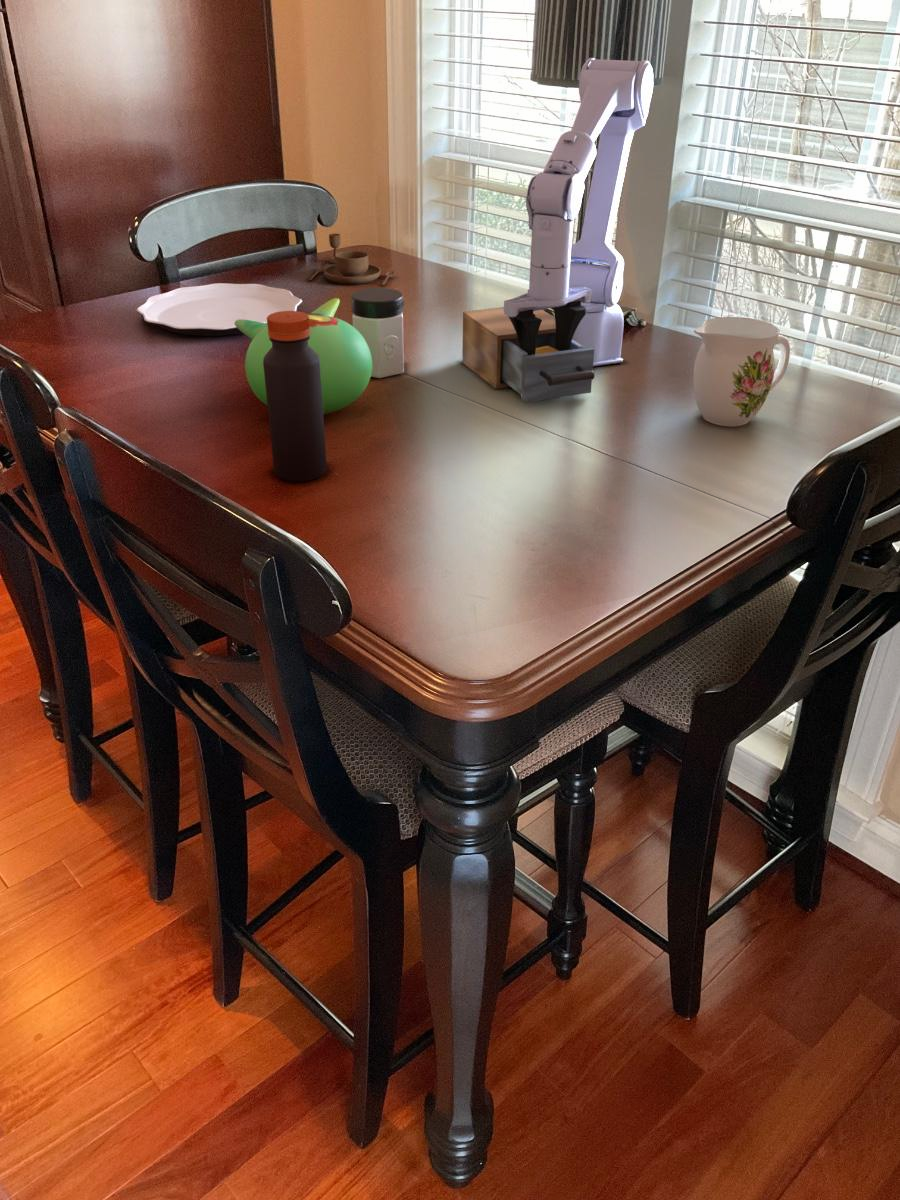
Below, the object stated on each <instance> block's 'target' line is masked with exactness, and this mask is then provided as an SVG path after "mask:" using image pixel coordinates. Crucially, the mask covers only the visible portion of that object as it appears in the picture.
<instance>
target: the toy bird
mask: <svg viewBox="0 0 900 1200" xmlns="http://www.w3.org/2000/svg"><path fill="white" fill-rule="evenodd" d="M340 302H341V301H340V298H338V297H335V298H331V299H329V300H327V301H326V302H325V303H323V304H321V305H320V306H319V307H318V308H316V309H314V310H313V311H312V312H310V313H306V314H307V315H308V316H309V326H310V335H309V336H310V339H309V340H308V346H310V347H311V348H312V349H313V350H314V351H315V352H316V353H317V354H318V355H319V358H320V373H321V388H322V402H323V416H324V415H328V414H331V413H335V412H338V411H340V410H343V409H345V408H347V407H348V406H350V405H351V404H352V403H354V402H355V401H356V400H358V399H359V398H360V397H361V396H362V394H363V393H364V392H365V391H366V389H367V387H368V385H369V383H370V381H371V378H372V377H371V373H372V357H371V353H370V350H369V347H368V345H367V343H366V341H365V339H364V338H363V336H362V335H361V334H360V333H359V332H358V331H357V330H356V329H355V328H354V327H353V324H352V325H351V324H350V323H349V322H347V321H345V320H343V319H340V318H338V317H334V316H335V314H336V312H337V310H338V308H339V306H340ZM234 324H235V326H236V327H237V328H238V329H239V330H240V331H241V332H243V334H244V335H245V336H246V337H248V338H249V339H250V340H251V342H250V343H249V346H248V348H247V351H246V354H245V359H244V363H245V364H244V370H245V376H246V379H247V382H248V385H249V387H250V390H251V391H252V392H253V394H254V395H255V396H256V397H257V399H258V400H259V401H260V402H261V403H262V404H264V406H267V396H266V386H265V376H264V366H263V360H264V356H265V355H266V354H267V353H268V351H269V350H270V349H271V348H272V342H271V341H270V340H269V335H268V325H267V324H265V323H261V322H256V321H251V320H245V319H239V320H236V321H235V323H234Z"/></svg>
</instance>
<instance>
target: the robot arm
mask: <svg viewBox="0 0 900 1200" xmlns="http://www.w3.org/2000/svg"><path fill="white" fill-rule="evenodd" d="M653 71H654V70H653V67H652V65H651V63H650V61H649V60H648V59H643V60H622V59H620V60H619V59H599V58H598V59H597V58H595V57H589V58H588V59H587V60H586V61H585V63H584V64H583V65H582V67H581V70H580V73H579V78H578V94H579V102H580V105H579V106H578V107H579V108H578V110H577V113H576V116H575V118H574V120H573V125H572V127H571V130H568V131H565V132H564V133H562V134H561V135H560V136H559V138H558V140H557V141H556V143H555V145H554V148H553V150H552V152H551V154H550V157H549V159H548V161H547V162H546V165H545V167H544V168H543V171H542V172H538V174H537V175H534V176H533V177H531V179H530V181H529V183H528V186H527V191H526V196H525V207H526V212H527V215H528V223H527V225H528V229H529V230H531V238H530V239H531V241H530V260H529V262H530V263H529V283H528V284H529V285H528V289H527V292H526V293H523V294H520V295H518V296H516V297H513V298H510V299H505V300H503V307H504V314H505V315H507V316H509V318H510V320H511V322H512V324H513V326H514V329H515V331H516V334H517V337H518V340H519V344H520V348H521V349H522V350H523V351H525V352H526V353H528V355H535V351H536V340H537V335H538V331H539V327H540V325H541V322H542V320H541V319H539V318H537V317H535V314H533V311H538V310H543V311H544V310H548V309H553V314H554V317H555V324H556V335H555V348H556V350H559V351H564V350H569V347H570V344H571V341H572V340H574V341H576V342H577V343H579V344H581V345H582V346H583V348H587V347H592V348H593V349H594V361H593V367H596V366H604V365H610V364H618V363H623V362H624V361H623V360H624V359H623V358H622V357H621V355H622V347H623V346H622V345H623V337H624V336H623V335H624V326H625V325H624V323H625V320H624V313H623V310H622V309H621V307H620V306H619V304H617V303H618V302H619V300H620V297H621V294H622V291H623V286H624V270H625V269H624V268H625V260H624V258H623V256H622V255H621V253H619V252H618V251H617V249H616V248H615V247H614V246H613V245H612V239H613V233H614V229H615V222H616V218H617V214H618V208H619V204H620V198H621V194H622V188H623V183H624V179H625V174H626V169H627V168H626V167H627V163H628V158H629V154H630V149H631V144H632V141H633V137H634V133H635V131H638V130H639V129H641V128H642V127H644V126H645V125H646V120H647V117H648V115H649V109H650V104H651V100H652V95H653V89H654V72H653ZM598 136H599V141H598V145H597V148H596V144H595V141H596V140H597V138H598ZM594 160H595V161H594ZM593 163H594V166H593V171H592V177H591V182H590V187H589V191H588V198H587V203H586V208H585V212H584V213H585V214H584V218H583V223H582V228H581V229H582V230H581V233H580V239H579V240H577V241H576V242H575V243H574V244H572V242H573V230H574V219H576V217H577V216H578V214H579V211H580V209H581V206H582V199H583V195H584V191H585V180H586V178H587V175H588V174H589V171H590V169H591V167H592V165H593Z"/></svg>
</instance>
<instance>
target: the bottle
mask: <svg viewBox="0 0 900 1200" xmlns="http://www.w3.org/2000/svg"><path fill="white" fill-rule="evenodd" d="M307 314H308V313H306V312H304V311H299V310H296V311H281V312H276V313H273V314H270V315H269V316H268V317H267V325H268V335H269V340H270V341H271V342H272V348H271V349H270V350H269V351H268V353H267V354H266V355H265V356H264V360H263V366H264V376H265V386H266V396H267V405H266V406H267V415H268V424H269V434H270V444H271V454H272V463H273V464H272V465H273V472H274V474H275V476H276V477H278V478H279V479H281V480H284V481H287V482H293V483H300V482H301V483H302V482H309V481H313V480H316V479H319V478H321V477H322V476H323V475H324V474H325V473H326V472H327V470H328V464H327V463H328V461H327V448H326V446H327V445H326V434H325V419H324V417H325V416H324V415H323V402H322V388H321V373H320V358H319V355H318V354H317V353H316V352H315V351H314V350H313V349H312V348H311V347H310V346H308V340H309V339H310V336H309V335H310V326H309V316H308V315H307Z"/></svg>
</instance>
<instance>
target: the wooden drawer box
mask: <svg viewBox="0 0 900 1200" xmlns="http://www.w3.org/2000/svg"><path fill="white" fill-rule="evenodd" d="M533 314H535V317H537V318H539V319H541V320H542V322H541V325H540V327H539V331H538V335H541V334H549V333H556V324H555V316H553V315H552V314H550V313H549V312H547V311H545V310H544V309H543V310H538V311H533ZM509 338H517V334H516V331H515V329H514V326H513V324H512V322H511V320H510V318H509V316H507V315H505V314H504V306H499V307H490V308H483V309H474V310H466V311H462V352H461V353H462V359H461V361H462V363H463V364H464V365H465V366H466V367H468V368H469V369H470V370H471V371H473V373H475V374H476V375H478V376H479V377H480V378H482V379H483V380H484V381H485V382H487V383H488V385H490V386H491V387H493V388H494V389H496V390H498V389H505V388H511V387H510V386H509V385H508V384H506V383H505V382H504V381H502V380H501V379H500V369H501V340H502V339H509Z"/></svg>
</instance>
